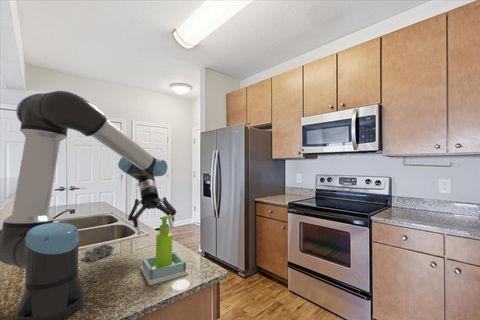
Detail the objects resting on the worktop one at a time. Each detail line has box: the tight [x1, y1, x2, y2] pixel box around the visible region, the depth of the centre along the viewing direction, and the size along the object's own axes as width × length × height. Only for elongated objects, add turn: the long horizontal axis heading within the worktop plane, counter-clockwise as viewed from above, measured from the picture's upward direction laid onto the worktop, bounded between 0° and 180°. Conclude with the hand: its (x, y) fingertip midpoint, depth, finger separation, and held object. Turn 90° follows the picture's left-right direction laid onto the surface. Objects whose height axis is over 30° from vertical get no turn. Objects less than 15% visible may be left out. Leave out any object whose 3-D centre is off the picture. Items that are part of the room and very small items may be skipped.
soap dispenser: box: [155, 215, 175, 269], centre depth 88 cm, size 6×7×20 cm
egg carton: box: [82, 243, 115, 262], centre depth 102 cm, size 11×8×4 cm
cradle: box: [140, 251, 189, 286], centre depth 88 cm, size 14×14×4 cm
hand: (156, 230), depth 97 cm, fingers open, 13 cm apart
